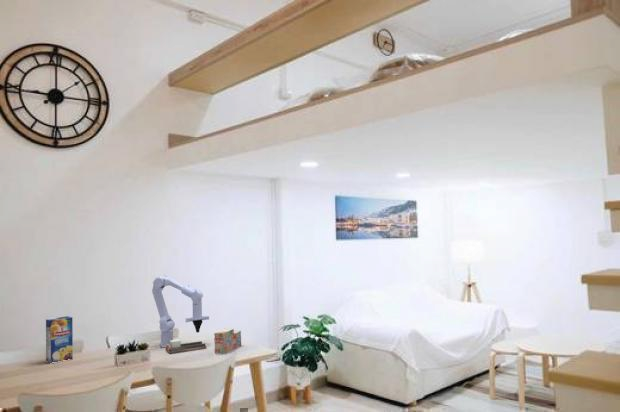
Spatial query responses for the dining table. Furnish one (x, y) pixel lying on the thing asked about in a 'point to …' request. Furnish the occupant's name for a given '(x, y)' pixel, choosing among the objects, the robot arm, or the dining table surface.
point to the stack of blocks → (227, 340)
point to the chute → (185, 347)
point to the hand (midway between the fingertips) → (197, 332)
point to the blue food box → (59, 339)
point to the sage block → (174, 343)
